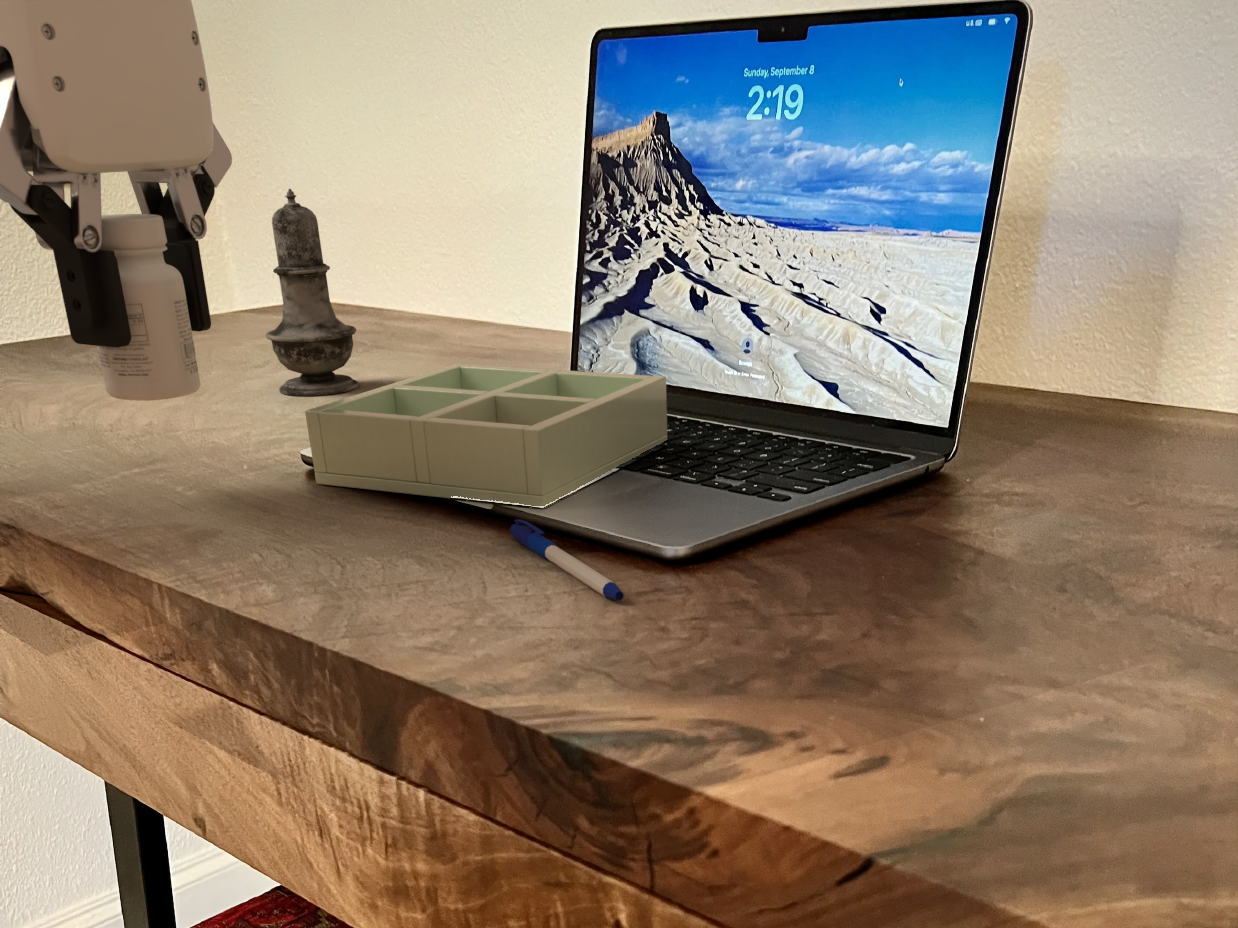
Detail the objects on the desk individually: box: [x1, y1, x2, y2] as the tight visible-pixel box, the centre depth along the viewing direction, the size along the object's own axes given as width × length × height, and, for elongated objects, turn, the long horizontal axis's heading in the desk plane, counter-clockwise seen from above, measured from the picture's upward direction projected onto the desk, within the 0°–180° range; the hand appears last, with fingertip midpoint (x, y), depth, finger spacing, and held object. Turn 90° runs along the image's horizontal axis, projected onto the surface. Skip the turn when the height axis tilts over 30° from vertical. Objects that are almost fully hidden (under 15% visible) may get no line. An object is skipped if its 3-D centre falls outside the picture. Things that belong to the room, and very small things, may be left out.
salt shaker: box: [265, 188, 360, 397], centre depth 87 cm, size 6×6×12 cm
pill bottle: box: [96, 213, 201, 402], centre depth 63 cm, size 4×4×8 cm
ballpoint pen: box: [509, 519, 624, 601], centre depth 55 cm, size 10×1×1 cm, turn 29°
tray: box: [304, 363, 669, 506], centre depth 69 cm, size 13×13×4 cm
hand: (143, 332), depth 64 cm, fingers closed on pill bottle, 4 cm apart
